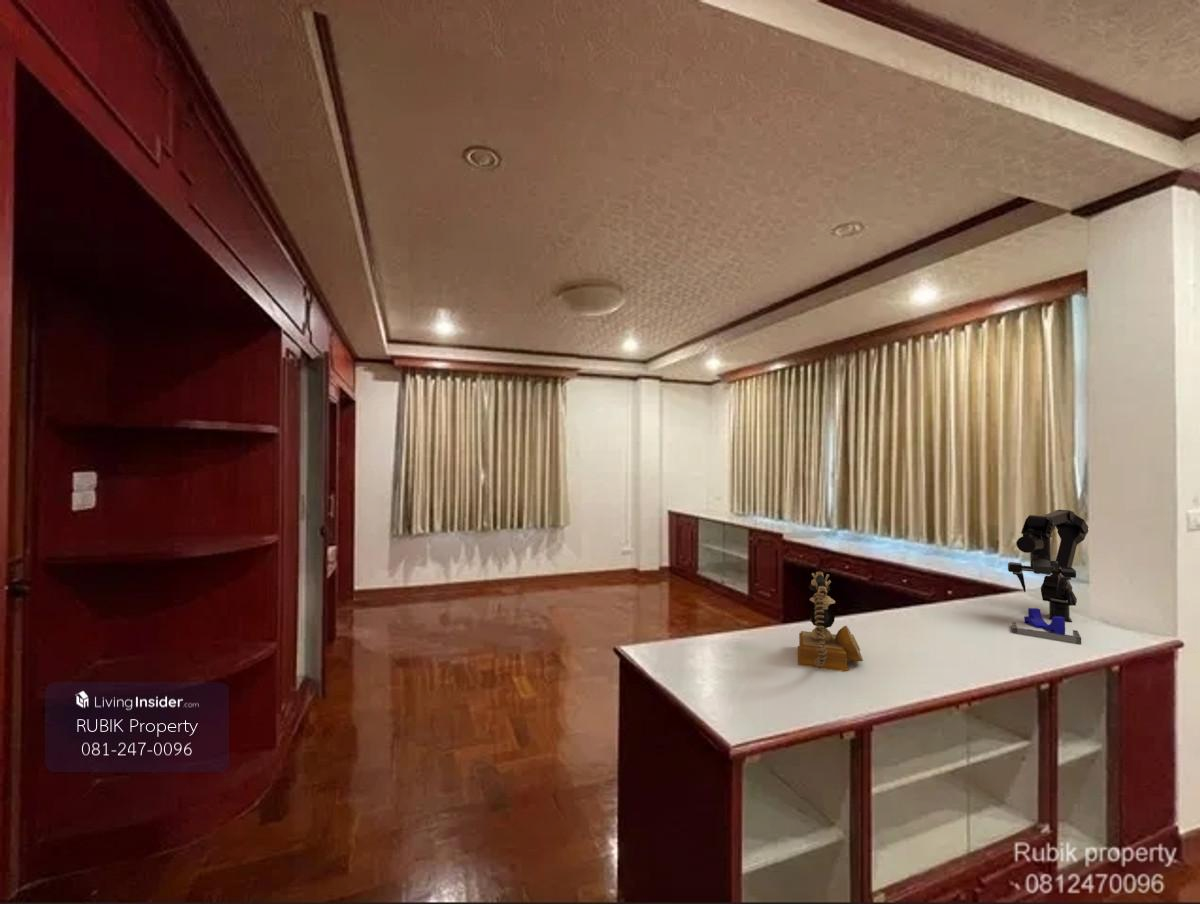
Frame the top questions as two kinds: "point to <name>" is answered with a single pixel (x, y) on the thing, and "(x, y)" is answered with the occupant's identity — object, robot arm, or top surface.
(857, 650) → the jack-in-the-box toy
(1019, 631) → the rail bay
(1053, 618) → the cable clip
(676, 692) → the top surface
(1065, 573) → the robot arm
